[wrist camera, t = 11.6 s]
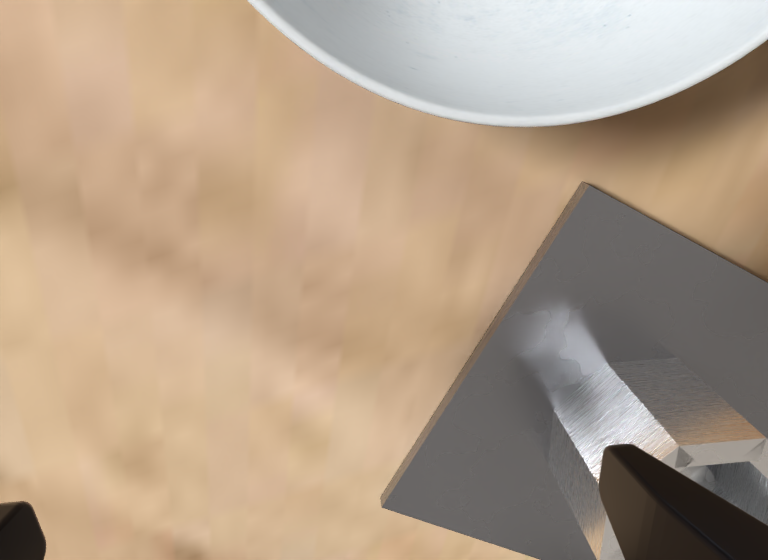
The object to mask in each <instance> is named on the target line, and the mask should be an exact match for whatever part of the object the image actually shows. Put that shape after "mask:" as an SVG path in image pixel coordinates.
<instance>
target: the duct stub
mask: <svg viewBox="0 0 768 560" xmlns="http://www.w3.org/2000/svg"><path fill="white" fill-rule="evenodd" d="M676 357H677V358H678V359H679V360H680V361H681V362H682V363H683V364H684V365H686V366H687V367H688V368H689V369H690V370H691V371H692V372H693V373H694V374H696V375H697V376H698V377H699V378H700V379H701V380H702V381H703V382H704V383H706V384H707V385H708V386H709V387H710V388H711V389H712V390H713V391H714V392H716V393H717V394H718V395H719V396H720V397H721V398H722V399H723V400H725V401H726V402H727V403H728V404H729V405H730V406H731V407H732V408H733V409H735V410H736V411H737V412H738V413H739V414H740V415H741V416H742V417H743V418H745V419H746V420H747V421H748V422H749V423H750V424H751V425H752V426H753V427H755V428H756V429H757V430H758V431H759V432H760V433H761V434H762V435H764V436H765V437H766V438H767V439H768V283H767V282H765V281H763V280H762V279H760V278H758V277H756V276H754V275H752V274H751V273H749V272H747V271H745V270H743V269H742V268H740V267H738V266H736V265H734V264H732V263H731V262H729V261H727V260H725V259H723V258H721V257H720V256H718V255H716V254H714V253H712V252H710V251H709V250H707V249H705V248H703V247H701V246H700V245H698V244H696V243H694V242H692V241H690V240H689V239H687V238H685V237H683V236H681V235H679V234H678V233H676V232H674V231H672V230H670V229H669V228H667V227H665V226H663V225H661V224H659V223H658V222H656V221H654V220H652V219H650V218H648V217H647V216H645V215H643V214H641V213H639V212H637V211H636V210H634V209H632V208H630V207H628V206H627V205H625V204H623V203H621V202H619V201H617V200H616V199H614V198H612V197H610V196H608V195H606V194H605V193H603V192H601V191H599V190H597V189H595V188H594V187H592V186H590V185H588V184H586V183H584V182H582V183H581V184H580V186H579V187H578V189H577V190H576V192H575V194H574V195H573V197H572V198H571V200H570V201H569V203H568V204H567V206H566V208H565V209H564V211H563V212H562V214H561V215H560V217H559V219H558V220H557V222H556V223H555V225H554V226H553V228H552V230H551V231H550V233H549V234H548V236H547V237H546V239H545V240H544V242H543V244H542V245H541V247H540V248H539V250H538V251H537V253H536V255H535V256H534V258H533V259H532V261H531V262H530V264H529V266H528V267H527V269H526V270H525V272H524V273H523V275H522V276H521V278H520V280H519V281H518V283H517V284H516V286H515V287H514V289H513V291H512V292H511V294H510V295H509V297H508V298H507V300H506V302H505V303H504V305H503V306H502V308H501V309H500V311H499V313H498V314H497V316H496V317H495V319H494V320H493V322H492V323H491V325H490V327H489V328H488V330H487V331H486V333H485V334H484V336H483V338H482V339H481V341H480V342H479V344H478V345H477V347H476V349H475V350H474V352H473V353H472V355H471V356H470V358H469V359H468V361H467V363H466V364H465V366H464V367H463V369H462V370H461V372H460V374H459V375H458V377H457V378H456V380H455V381H454V383H453V385H452V386H451V388H450V389H449V391H448V392H447V394H446V395H445V397H444V399H443V400H442V402H441V403H440V405H439V406H438V408H437V410H436V411H435V413H434V414H433V416H432V417H431V419H430V421H429V422H428V424H427V425H426V427H425V428H424V430H423V431H422V433H421V435H420V436H419V438H418V439H417V441H416V442H415V444H414V446H413V447H412V449H411V450H410V452H409V453H408V455H407V457H406V458H405V460H404V461H403V463H402V464H401V466H400V468H399V469H398V471H397V472H396V474H395V475H394V477H393V478H392V480H391V482H390V483H389V485H388V486H387V488H386V489H385V491H384V493H383V494H382V496H381V506H382V508H385V509H388V510H391V511H394V512H397V513H400V514H403V515H406V516H409V517H413V518H416V519H419V520H422V521H425V522H428V523H431V524H434V525H437V526H440V527H443V528H446V529H449V530H452V531H455V532H458V533H461V534H464V535H467V536H470V537H473V538H476V539H479V540H482V541H485V542H488V543H491V544H495V545H498V546H501V547H504V548H507V549H510V550H513V551H516V552H519V553H522V554H525V555H528V556H531V557H534V558H537V559H540V560H597V559H596V557H595V555H594V553H593V551H592V549H591V547H590V545H589V543H588V541H587V539H586V537H585V535H584V533H583V531H582V529H581V527H580V525H579V523H578V521H577V520H576V518H575V516H574V514H573V512H572V510H571V508H570V506H569V504H568V502H567V500H566V498H565V496H564V494H563V492H562V490H561V488H560V486H559V484H558V482H557V480H556V478H555V476H554V474H553V473H552V471H551V469H550V467H549V465H548V460H549V450H550V439H551V429H552V418H553V409H554V408H555V407H557V406H558V405H559V404H560V403H561V402H562V401H564V400H565V399H566V398H567V397H568V396H569V395H571V394H572V393H573V392H574V391H575V390H576V389H577V388H579V387H580V386H581V385H582V384H583V383H584V382H586V381H587V380H588V379H589V378H590V377H591V376H593V375H594V374H595V373H596V372H597V371H598V370H600V369H601V368H602V367H603V366H604V365H605V364H607V363H614V362H626V361H639V360H651V359H663V358H676ZM680 473H682V474H683V475H685V476H687V477H688V478H690V479H692V480H693V481H695V482H697V483H698V484H700V485H702V486H703V487H705V488H707V489H708V490H710V491H712V492H713V490H714V486H715V480H714V476H713V474H712V472H711V471H710V470H709V469H708V467H707V466H706V465H703V466H692V467H685V468H684V469H682V470H681V471H680Z"/></svg>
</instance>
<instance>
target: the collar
mask: <svg viewBox="0 0 768 560" xmlns="http://www.w3.org/2000/svg"><path fill="white" fill-rule="evenodd" d="M617 444H633V445H635V446H637V447H638V448H640V449H642V450H643V451H645V452H647V453H648V454H650V455H652V456H653V457H655V458H657V459H658V460H660V461H662V462H663V463H665V464H667V465H668V466H670V467H672V468H673V469H675V470H677V471H678V472H680V471H681V470H682V469H684V468H685V467H692V466H703V465H706V466H707V467H708V469H709V470H710V471H711V472H712V474H713V476H714V480H715V486H714V490H713V493H715V494H717V495H718V496H720V497H722V498H723V499H725V500H727V501H728V502H730V503H732V504H733V505H735V506H736V507H738V508H740V509H741V510H743V511H745V512H746V513H748V514H750V515H751V516H753V517H755V518H756V519H758V520H760V521H761V522H763V523H765V524H766V525H768V439H767V438H766V437H765V436H764V435H762V434H761V433H760V432H759V431H758V430H757V429H756V428H755V427H753V426H752V425H751V424H750V423H749V422H748V421H747V420H746V419H745V418H743V417H742V416H741V415H740V414H739V413H738V412H737V411H736V410H735V409H733V408H732V407H731V406H730V405H729V404H728V403H727V402H726V401H725V400H723V399H722V398H721V397H720V396H719V395H718V394H717V393H716V392H714V391H713V390H712V389H711V388H710V387H709V386H708V385H707V384H706V383H704V382H703V381H702V380H701V379H700V378H699V377H698V376H697V375H696V374H694V373H693V372H692V371H691V370H690V369H689V368H688V367H687V366H686V365H684V364H683V363H682V362H681V361H680V360H679V359H678V358H677V357H676V358H663V359H651V360H639V361H626V362H614V363H607V364H605V365H604V366H603V367H602V368H601V369H600V370H598V371H597V372H596V373H595V374H594V375H593V376H591V377H590V378H589V379H588V380H587V381H586V382H584V383H583V384H582V385H581V386H580V387H579V388H577V389H576V390H575V391H574V392H573V393H572V394H571V395H569V396H568V397H567V398H566V399H565V400H564V401H562V402H561V403H560V404H559V405H558V406H557V407H555V408H554V409H553V418H552V429H551V439H550V450H549V460H548V465H549V467H550V469H551V471H552V473H553V474H554V476H555V478H556V480H557V482H558V484H559V486H560V488H561V490H562V492H563V494H564V496H565V498H566V500H567V502H568V504H569V506H570V508H571V510H572V512H573V514H574V516H575V518H576V520H577V521H578V523H579V525H580V527H581V529H582V531H583V533H584V535H585V537H586V539H587V541H588V543H589V545H590V547H591V549H592V551H593V553H594V555H595V557H596V559H597V560H625V559H624V556H623V554H622V551H621V549H620V546H619V544H618V541H617V539H616V536H615V534H614V531H613V529H612V526H611V524H610V521H609V519H608V516H607V514H606V511H605V508H604V506H603V503H602V501H601V498H600V493H599V478H600V471H601V464H602V456H603V451H604V449H605V448H606V447H607V446H609V445H617Z"/></svg>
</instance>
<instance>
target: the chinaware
mask: <svg viewBox="0 0 768 560" xmlns="http://www.w3.org/2000/svg"><path fill="white" fill-rule="evenodd" d="M248 2H249V3H250V4H251V5H252V6H253V7H254V8H255V9H256V10H257V11H258V12H259V13H261V14H262V15H263V16H264V17H265V18H266V19H267V20H268V21H269V22H270V23H271V24H272V25H273V26H275V27H276V28H277V29H278V30H279V31H280V32H281V33H282V34H284V35H285V36H286V37H287V38H288V39H290V40H291V41H292V42H293V43H295V44H296V45H297V46H298V47H300V48H301V49H302V50H304V51H305V52H306V53H308V54H309V55H311V56H312V57H313V58H315V59H316V60H317V61H319V62H320V63H322V64H323V65H325V66H327V67H328V68H330V69H331V70H333V71H334V72H336V73H337V74H339V75H341V76H343V77H344V78H346V79H348V80H349V81H351V82H353V83H355V84H357V85H359V86H361V87H363V88H364V89H366V90H368V91H370V92H373V93H375V94H377V95H379V96H381V97H383V98H386V99H388V100H390V101H393V102H396V103H398V104H401V105H403V106H406V107H409V108H412V109H415V110H418V111H421V112H424V113H427V114H431V115H434V116H438V117H442V118H447V119H451V120H456V121H461V122H467V123H473V124H480V125H489V126H501V127H547V126H558V125H568V124H575V123H582V122H587V121H592V120H597V119H602V118H606V117H610V116H614V115H618V114H621V113H625V112H628V111H631V110H635V109H638V108H641V107H644V106H646V105H649V104H652V103H655V102H657V101H660V100H662V99H665V98H667V97H670V96H672V95H674V94H676V93H679V92H681V91H683V90H685V89H687V88H690V87H692V86H693V85H695V84H697V83H699V82H701V81H703V80H705V79H707V78H709V77H711V76H712V75H714V74H716V73H718V72H720V71H721V70H723V69H725V68H726V67H728V66H730V65H731V64H733V63H734V62H736V61H738V60H739V59H741V58H742V57H744V56H745V55H747V54H748V53H750V52H751V51H753V50H754V49H756V48H757V47H759V46H760V45H761V44H763V43H764V42H765V41H767V40H768V0H248Z"/></svg>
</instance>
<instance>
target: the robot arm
mask: <svg viewBox="0 0 768 560" xmlns="http://www.w3.org/2000/svg"><path fill="white" fill-rule="evenodd" d="M599 493H600V498H601V501H602V503H603V506H604V508H605V511H606V514H607V516H608V519H609V521H610V524H611V526H612V529H613V531H614V534H615V536H616V539H617V541H618V544H619V546H620V549H621V551H622V554H623V556H624V559H625V560H768V525H766V524H765V523H763V522H761V521H760V520H758V519H756V518H755V517H753V516H751V515H750V514H748V513H746V512H745V511H743V510H741V509H740V508H738V507H736V506H735V505H733V504H732V503H730V502H728V501H727V500H725V499H723V498H722V497H720V496H718V495H717V494H715V493H713V492H712V491H710V490H708V489H707V488H705V487H703V486H702V485H700V484H698V483H697V482H695V481H693V480H692V479H690V478H688V477H687V476H685V475H683V474H682V473H680V472H678V471H677V470H675V469H673V468H672V467H670V466H668V465H667V464H665V463H663V462H662V461H660V460H658V459H657V458H655V457H653V456H652V455H650V454H648V453H647V452H645V451H643V450H642V449H640V448H638V447H637V446H635V445H633V444H617V445H609V446H607V447H606V448H605V449H604V451H603V456H602V464H601V471H600V478H599ZM45 552H46V540H45V537H44V534H43V532H42V529H41V527H40V524H39V522H38V519H37V517H36V514H35V512H34V509H33V507H32V505H31V504H29V503H28V502H25V501H18V502H8V503H1V504H0V560H44V556H45Z"/></svg>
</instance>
